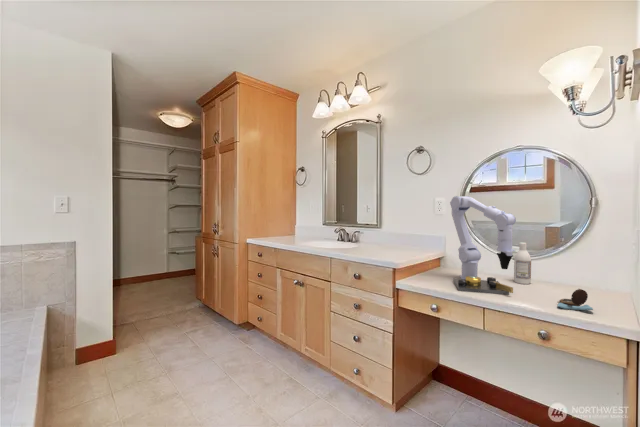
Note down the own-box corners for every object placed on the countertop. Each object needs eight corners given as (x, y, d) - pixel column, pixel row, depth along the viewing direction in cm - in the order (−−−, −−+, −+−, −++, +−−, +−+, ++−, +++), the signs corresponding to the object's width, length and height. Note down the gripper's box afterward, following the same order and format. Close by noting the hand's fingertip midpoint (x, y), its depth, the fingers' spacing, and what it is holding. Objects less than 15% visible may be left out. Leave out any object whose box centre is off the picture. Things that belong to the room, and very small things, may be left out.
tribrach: (453, 281, 148) (453, 271, 148) (497, 284, 142) (498, 274, 142) (458, 290, 132) (458, 280, 131) (509, 294, 126) (509, 283, 125)
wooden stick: (487, 285, 134) (487, 280, 134) (493, 284, 135) (494, 280, 135) (508, 293, 122) (508, 288, 122) (515, 292, 123) (515, 287, 123)
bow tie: (556, 306, 113) (557, 309, 109) (556, 301, 113) (557, 305, 109) (591, 309, 107) (594, 313, 103) (591, 304, 107) (594, 308, 103)
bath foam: (533, 284, 141) (534, 243, 140) (517, 284, 142) (518, 243, 141) (526, 281, 148) (527, 242, 147) (511, 280, 149) (512, 241, 148)
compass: (568, 301, 117) (569, 283, 117) (588, 308, 110) (589, 289, 109) (550, 302, 117) (551, 284, 116) (569, 309, 109) (569, 290, 109)
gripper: (520, 241, 125) (520, 273, 126) (509, 238, 139) (509, 266, 139) (502, 241, 127) (501, 272, 128) (493, 237, 141) (492, 265, 142)
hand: (504, 268), depth 134 cm, fingers closed
